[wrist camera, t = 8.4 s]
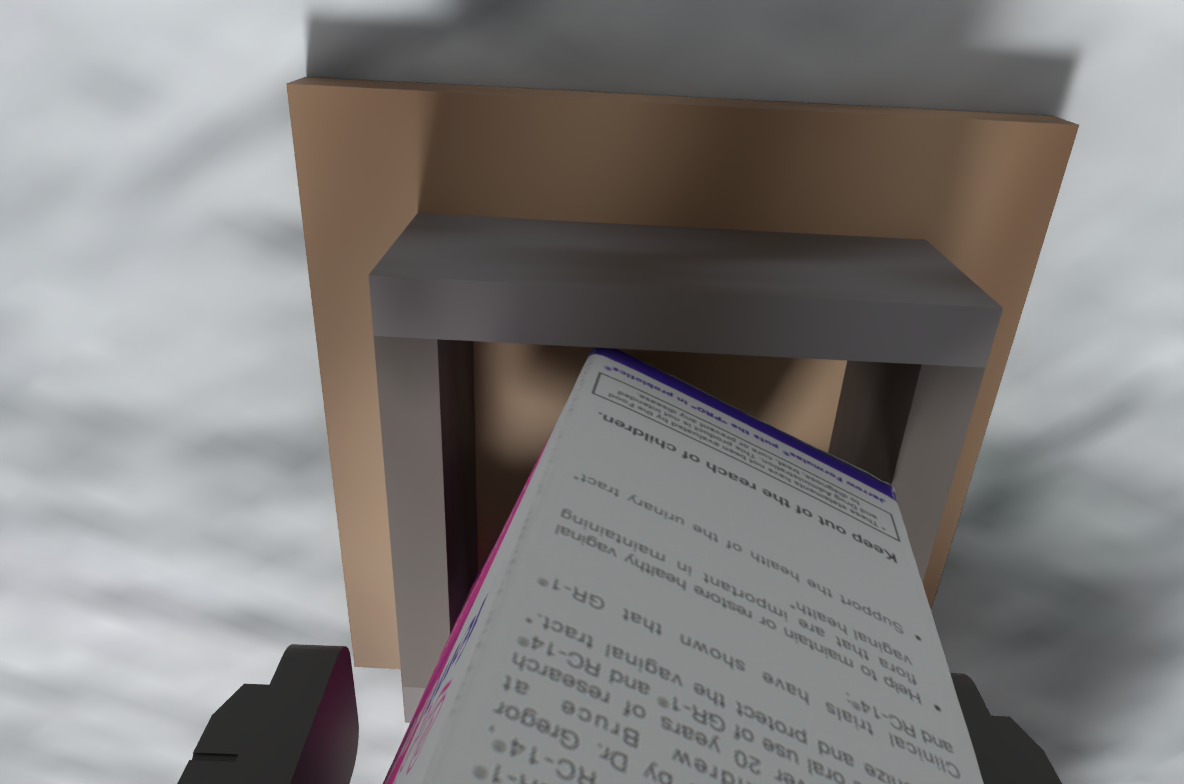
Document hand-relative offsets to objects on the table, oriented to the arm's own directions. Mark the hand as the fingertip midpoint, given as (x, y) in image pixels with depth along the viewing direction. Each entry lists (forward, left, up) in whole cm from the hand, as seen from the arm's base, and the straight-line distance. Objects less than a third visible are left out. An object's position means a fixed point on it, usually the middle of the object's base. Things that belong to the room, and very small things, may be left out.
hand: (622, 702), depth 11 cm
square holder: (-1, 0, -8) cm, 8 cm away
